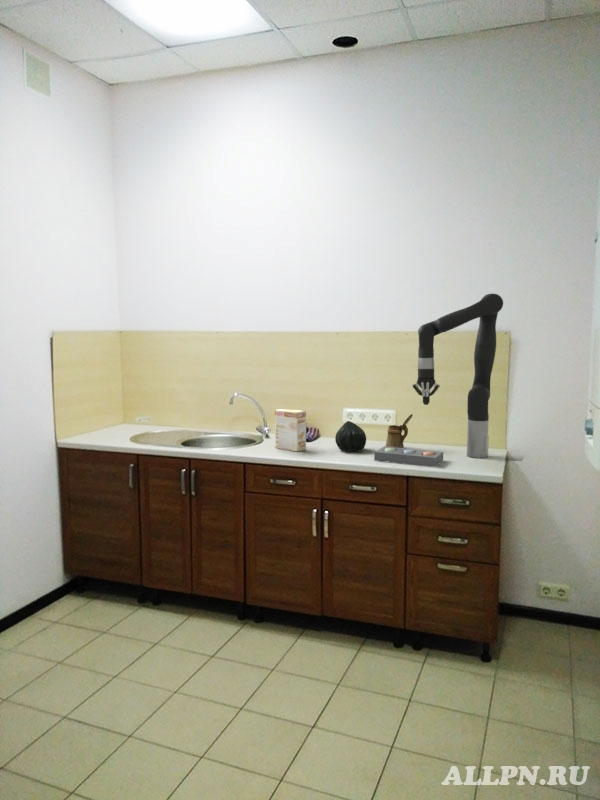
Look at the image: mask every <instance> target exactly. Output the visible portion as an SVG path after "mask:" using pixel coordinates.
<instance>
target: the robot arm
mask: <svg viewBox="0 0 600 800" xmlns="http://www.w3.org/2000/svg"><path fill="white" fill-rule="evenodd" d="M503 306H504V300H503V298H502V296H500V295H499V294H497V293H487V294H485V295H484V296H483V297H481V299H480V300H479V301H477V302H475V303H473V304H472V305H470V306H467V307H464V308H461V309H459V310H455V311H452V312H451V313H447V314H445V315H443V316H441V317H439V318H437V319H435V320H433V321H430V322H426V323H425V324H422V325H420V327H419V328H418V329H417V333H418V350H417V351H418V356H417V359H418V360H417V380H416V382H415V383H414V384H412V388H413V389H414V390H415V392H416V393H417V394H418V395H419V396H421V397H422V403H423V405H424V406H425V405H426V406H427V405H429V404H430V400H431V399H430V397H431V396H433V395H434V394H435V393H436V392H437V391H438V389H439V388H440V387H441V385H440V384H438V383H437V382H436V378H435V348H434V343H435V341H434V340H435V336H437V335H440V334H443V333H445V332H449V331H451V330H453V329H455V328H458V327H459V326H462V325H465V324H466V323H469V322H470V321H473V320H476V319H478V318H479V326H478V329H477V335H476V338H475V345H474V353H473V355H474V356H473V363H474V376H473V377H474V378H473V383H472V386H471V388H470V389H469V390H468V393H467V410H466V412H467V437H466V439H467V440H466V441H467V443H466V457H468V458H469V457H470V458H477V459H486V458H487V457H488V456H489V442H490V438H489V437H490V436H489V421H490V420H489V419H490V418H489V415H490V414H489V400H490V398H491V379H492V377H491V376H492V371H493V367H494V363H495V358H496V351H497V330H496V328H497V327H496V326H497V318H498V315H499V312H500V311H501V310H502V308H503ZM432 388H433V389H432ZM431 389H432V390H431Z"/></svg>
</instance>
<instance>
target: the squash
mask: <svg viewBox="0 0 600 800" xmlns="http://www.w3.org/2000/svg"><path fill="white" fill-rule="evenodd" d="M335 443H336V445H337V447H338V449H339V450H340V451H343V452H349V451H355V452H361V451H363V450H364V449H365V447H366V444H367V435H366V433H365V431H364V429H363V428H362V427H360V426H359V425H357V424H356V423H354V422H352V421H350V420H348V421H345V422H344V423H343V425H341V426H340V427H339V429H338V430H337V432H336V434H335Z"/></svg>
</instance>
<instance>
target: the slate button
mask: <svg viewBox="0 0 600 800" xmlns="http://www.w3.org/2000/svg"><path fill="white" fill-rule="evenodd" d="M404 453H412V454H413V453H414V450H404Z"/></svg>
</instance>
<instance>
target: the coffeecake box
mask: <svg viewBox="0 0 600 800" xmlns="http://www.w3.org/2000/svg"><path fill="white" fill-rule="evenodd" d="M274 412H275V413H274V419H275V420H274V423H275V424H274V425H275V426H274V429H275V430H274V432H275V433H274V435H275V436H274V438H275V443H274V445H275V446H274V447H275V449H279V450H284V451H285V450H286V451H290V450H291V451H292V452H295V451H298V452H302V450H303V451H306V450H307V411H306V410H300V409H292V408H278V409H277V408H276V409H275V410H274ZM291 451H290V452H291Z"/></svg>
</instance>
